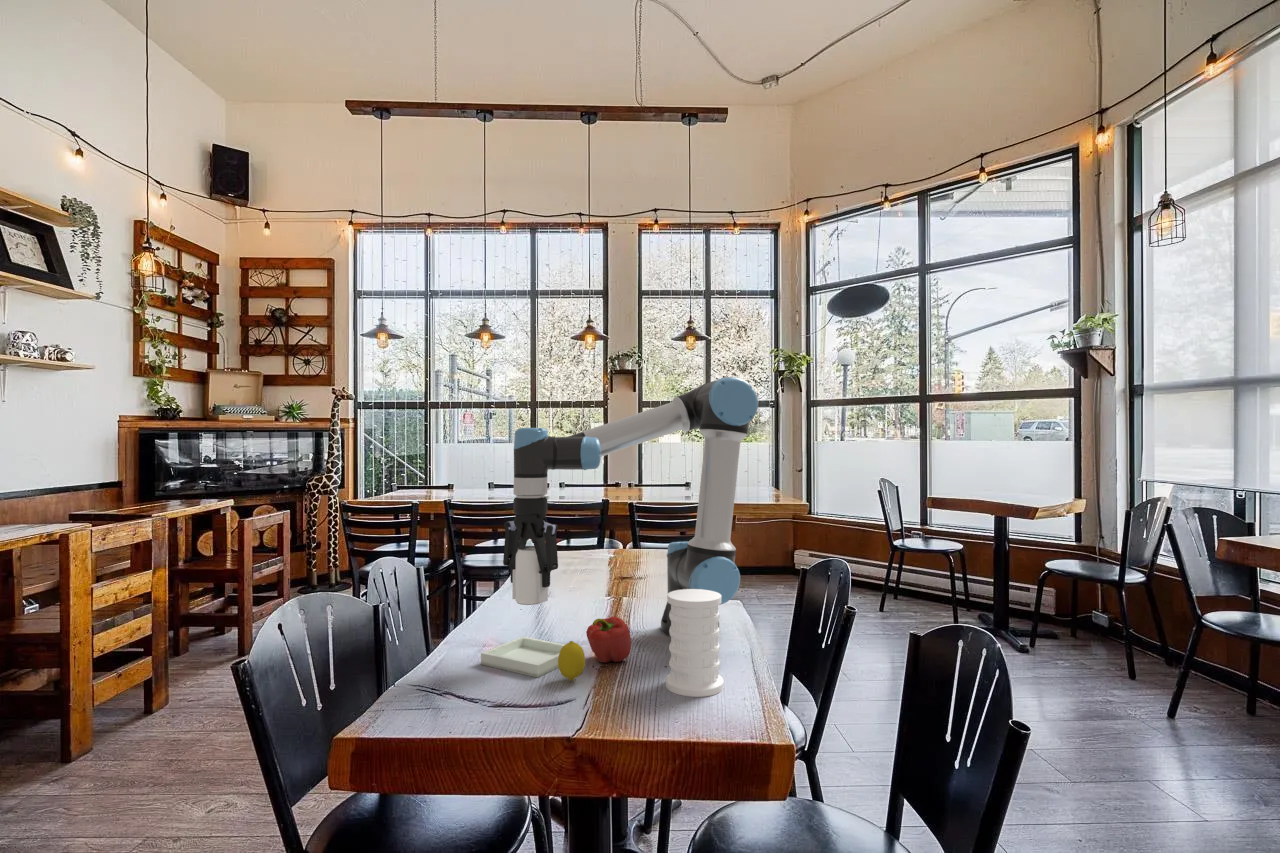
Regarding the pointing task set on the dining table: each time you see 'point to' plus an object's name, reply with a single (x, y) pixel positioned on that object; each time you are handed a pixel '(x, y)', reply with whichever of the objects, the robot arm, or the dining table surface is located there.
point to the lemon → (571, 660)
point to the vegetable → (609, 639)
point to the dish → (524, 656)
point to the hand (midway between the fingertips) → (530, 599)
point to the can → (526, 576)
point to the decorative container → (694, 643)
